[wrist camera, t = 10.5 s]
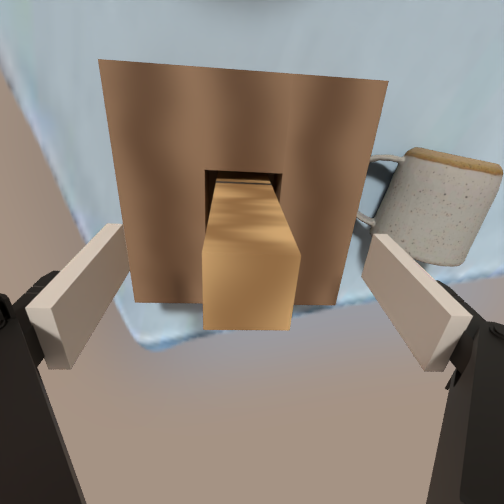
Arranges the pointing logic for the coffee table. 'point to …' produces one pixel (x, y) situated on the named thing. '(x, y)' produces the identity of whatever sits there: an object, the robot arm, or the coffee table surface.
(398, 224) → the ceramic mug
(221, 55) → the coffee table surface
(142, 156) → the walnut socket block
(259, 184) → the oak peg
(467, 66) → the coffee table surface
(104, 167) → the coffee table surface
